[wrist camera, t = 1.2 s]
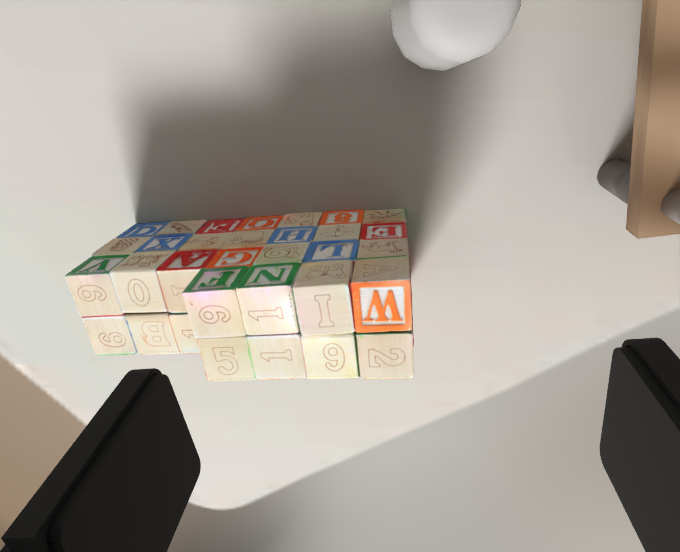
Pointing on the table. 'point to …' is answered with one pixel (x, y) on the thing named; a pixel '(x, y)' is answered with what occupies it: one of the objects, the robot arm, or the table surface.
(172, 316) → the stack of blocks
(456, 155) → the table surface
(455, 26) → the salt shaker
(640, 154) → the shelf
